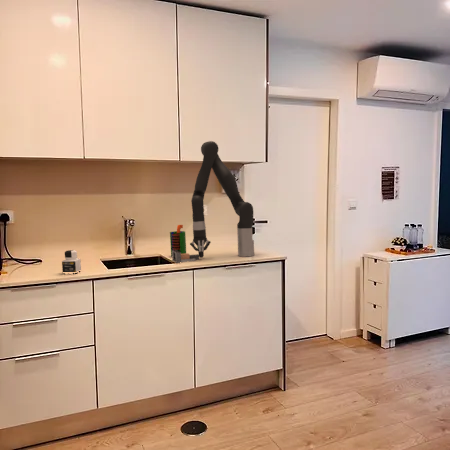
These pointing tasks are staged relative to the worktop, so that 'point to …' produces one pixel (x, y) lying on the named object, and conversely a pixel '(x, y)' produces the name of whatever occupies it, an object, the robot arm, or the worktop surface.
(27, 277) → the worktop surface
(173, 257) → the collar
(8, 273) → the worktop surface
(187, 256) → the plug
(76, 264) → the medicine bottle
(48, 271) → the worktop surface
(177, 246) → the motor
